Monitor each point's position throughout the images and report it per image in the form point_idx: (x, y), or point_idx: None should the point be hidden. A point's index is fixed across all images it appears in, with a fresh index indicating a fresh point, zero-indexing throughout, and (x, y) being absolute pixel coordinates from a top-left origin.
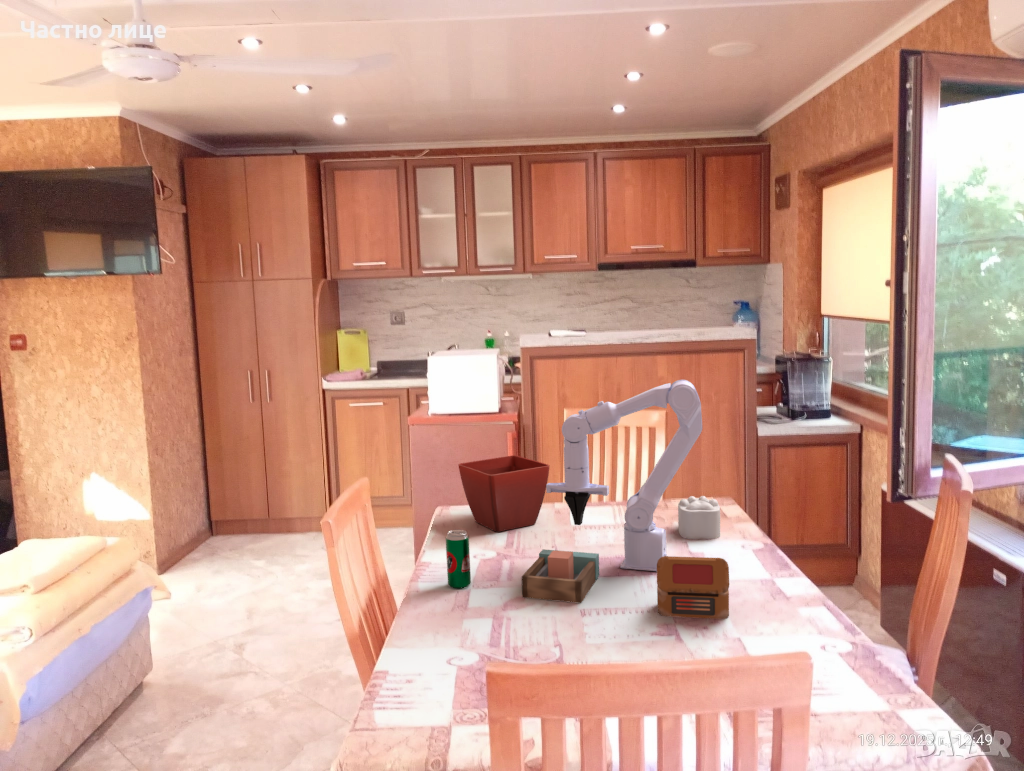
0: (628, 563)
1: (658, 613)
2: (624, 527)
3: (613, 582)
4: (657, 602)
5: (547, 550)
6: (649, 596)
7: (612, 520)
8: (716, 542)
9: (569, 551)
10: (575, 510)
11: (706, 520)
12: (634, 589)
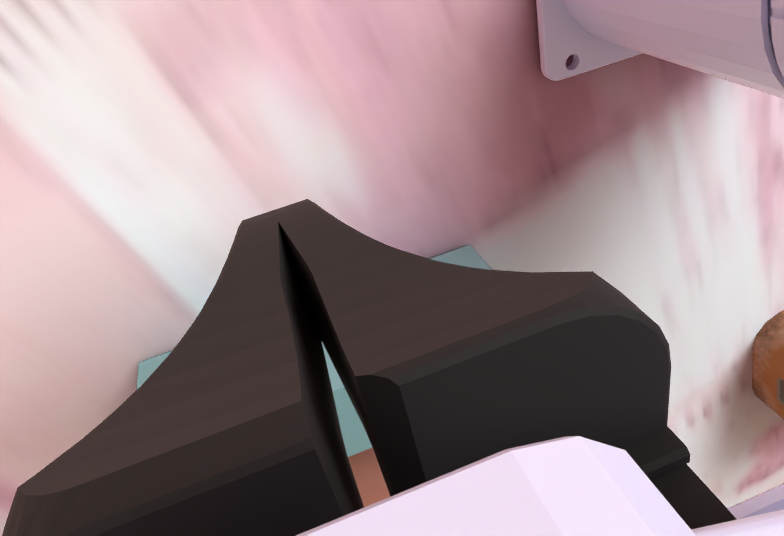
0: (598, 36)
1: (755, 393)
2: (778, 62)
3: (557, 267)
4: (781, 411)
5: None
6: (721, 302)
7: None
8: None
9: (334, 392)
10: (347, 456)
11: None
12: (659, 279)
